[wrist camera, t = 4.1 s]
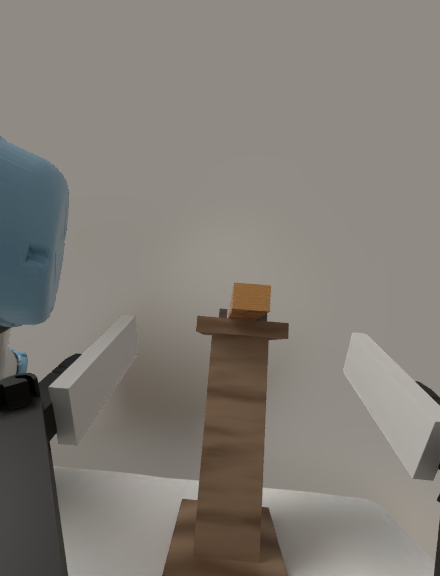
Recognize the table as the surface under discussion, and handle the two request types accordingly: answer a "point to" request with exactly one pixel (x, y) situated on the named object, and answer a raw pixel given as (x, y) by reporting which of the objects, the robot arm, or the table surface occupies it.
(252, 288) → the wood grain block
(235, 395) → the stand
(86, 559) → the table surface
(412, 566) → the table surface
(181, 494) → the table surface
